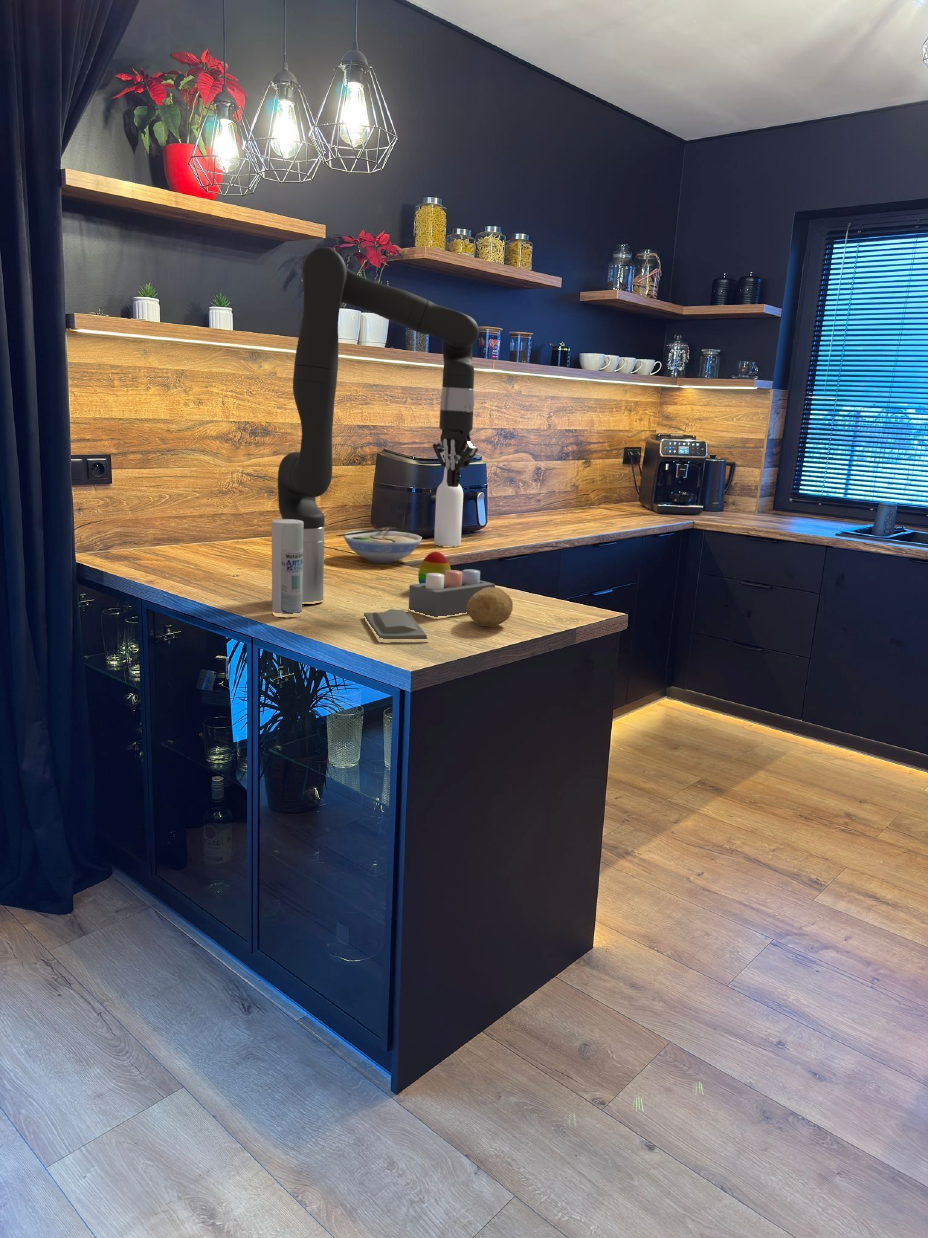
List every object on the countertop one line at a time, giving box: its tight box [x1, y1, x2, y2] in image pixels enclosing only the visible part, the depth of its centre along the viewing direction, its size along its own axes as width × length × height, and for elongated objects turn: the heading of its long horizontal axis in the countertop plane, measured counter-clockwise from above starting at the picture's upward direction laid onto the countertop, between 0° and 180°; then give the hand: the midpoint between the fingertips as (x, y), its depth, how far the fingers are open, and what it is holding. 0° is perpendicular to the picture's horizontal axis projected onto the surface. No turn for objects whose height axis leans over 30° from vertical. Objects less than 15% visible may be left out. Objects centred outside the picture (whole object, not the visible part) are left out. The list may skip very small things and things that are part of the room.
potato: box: [466, 586, 514, 627], centre depth 187 cm, size 10×14×8 cm
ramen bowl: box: [335, 526, 423, 564], centre depth 255 cm, size 25×23×8 cm
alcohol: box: [433, 454, 464, 547], centre depth 287 cm, size 9×9×30 cm
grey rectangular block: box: [408, 579, 496, 617], centre depth 198 cm, size 18×9×6 cm, turn 134°
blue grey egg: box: [462, 568, 481, 585], centre depth 201 cm, size 4×4×6 cm
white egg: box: [426, 573, 444, 590], centre depth 194 cm, size 4×4×6 cm
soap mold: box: [363, 608, 428, 639], centre depth 179 cm, size 10×20×4 cm, turn 14°
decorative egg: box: [417, 551, 452, 584], centre depth 217 cm, size 8×8×10 cm
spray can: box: [271, 518, 304, 614], centre depth 184 cm, size 6×6×20 cm
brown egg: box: [444, 569, 463, 587], centre depth 198 cm, size 4×4×6 cm
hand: (452, 486), depth 202 cm, fingers closed
